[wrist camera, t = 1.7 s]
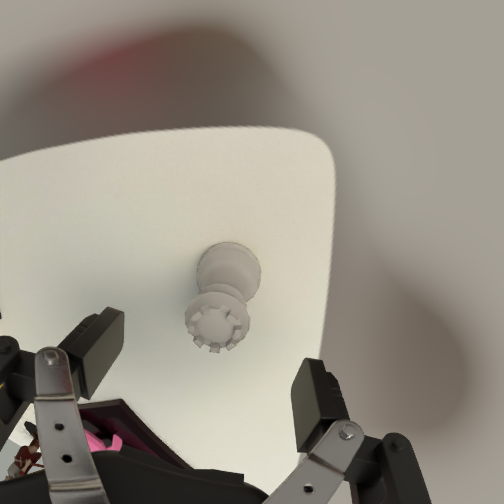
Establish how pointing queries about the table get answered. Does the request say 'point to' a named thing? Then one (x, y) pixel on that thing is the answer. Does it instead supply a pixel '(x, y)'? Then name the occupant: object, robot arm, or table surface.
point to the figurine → (26, 455)
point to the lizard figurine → (122, 431)
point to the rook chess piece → (223, 296)
